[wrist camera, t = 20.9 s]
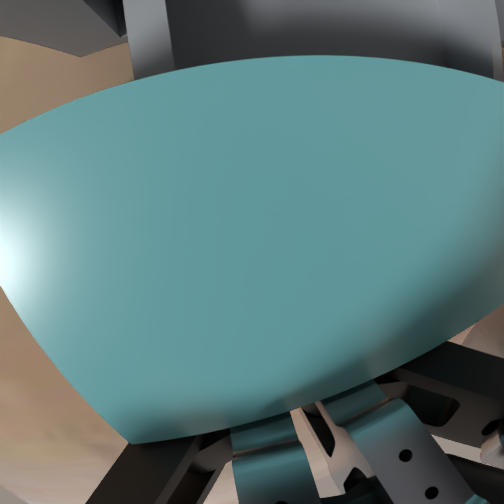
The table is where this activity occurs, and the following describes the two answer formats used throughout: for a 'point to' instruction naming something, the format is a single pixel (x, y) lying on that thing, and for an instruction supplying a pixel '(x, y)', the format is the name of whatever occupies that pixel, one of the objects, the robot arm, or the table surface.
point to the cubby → (83, 23)
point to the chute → (260, 207)
